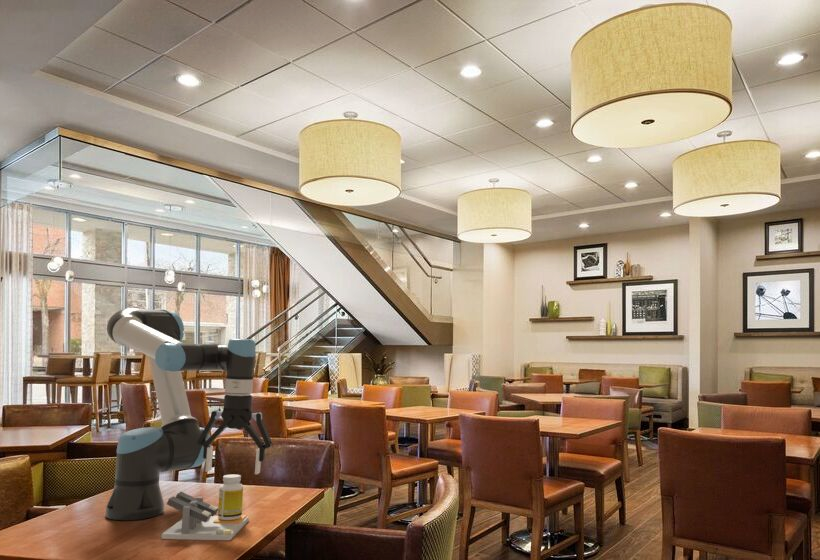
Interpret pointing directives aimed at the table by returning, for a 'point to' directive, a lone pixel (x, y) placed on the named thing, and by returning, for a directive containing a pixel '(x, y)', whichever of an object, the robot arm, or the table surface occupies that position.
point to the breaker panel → (204, 527)
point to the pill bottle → (230, 498)
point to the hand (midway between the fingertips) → (232, 472)
